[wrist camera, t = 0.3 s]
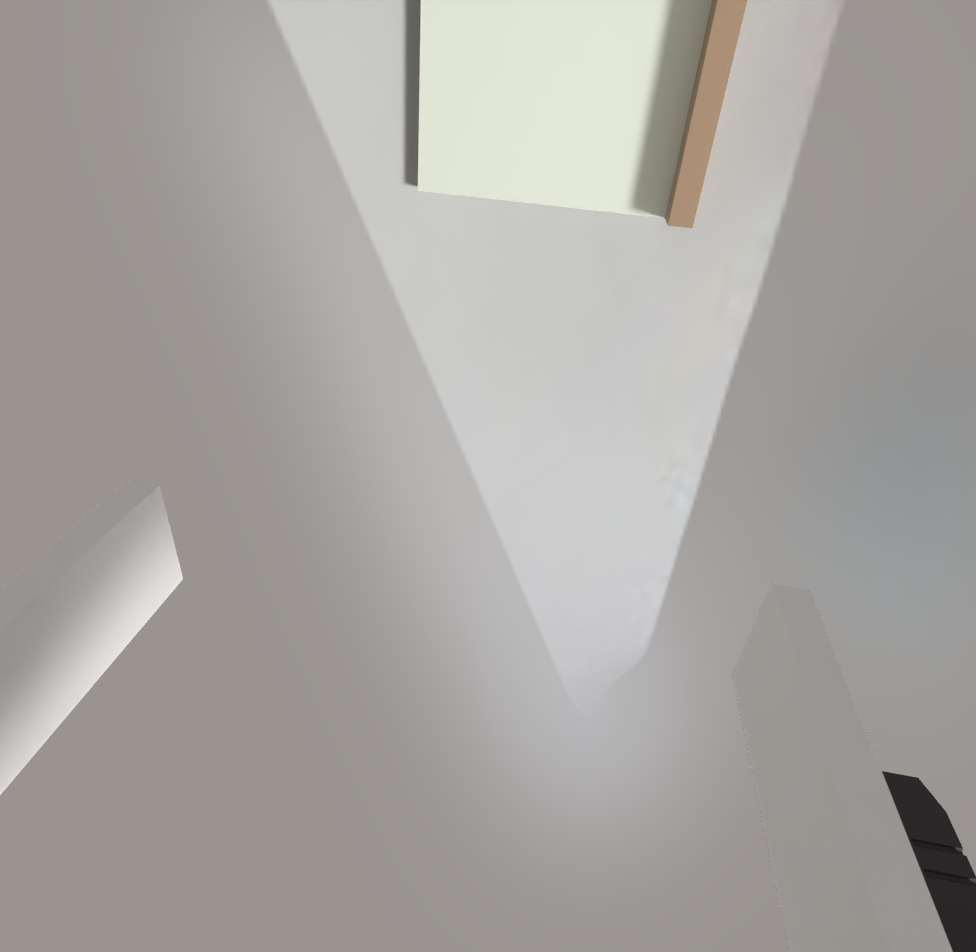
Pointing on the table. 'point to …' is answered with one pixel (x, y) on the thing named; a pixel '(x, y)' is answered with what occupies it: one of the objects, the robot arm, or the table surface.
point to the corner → (574, 100)
